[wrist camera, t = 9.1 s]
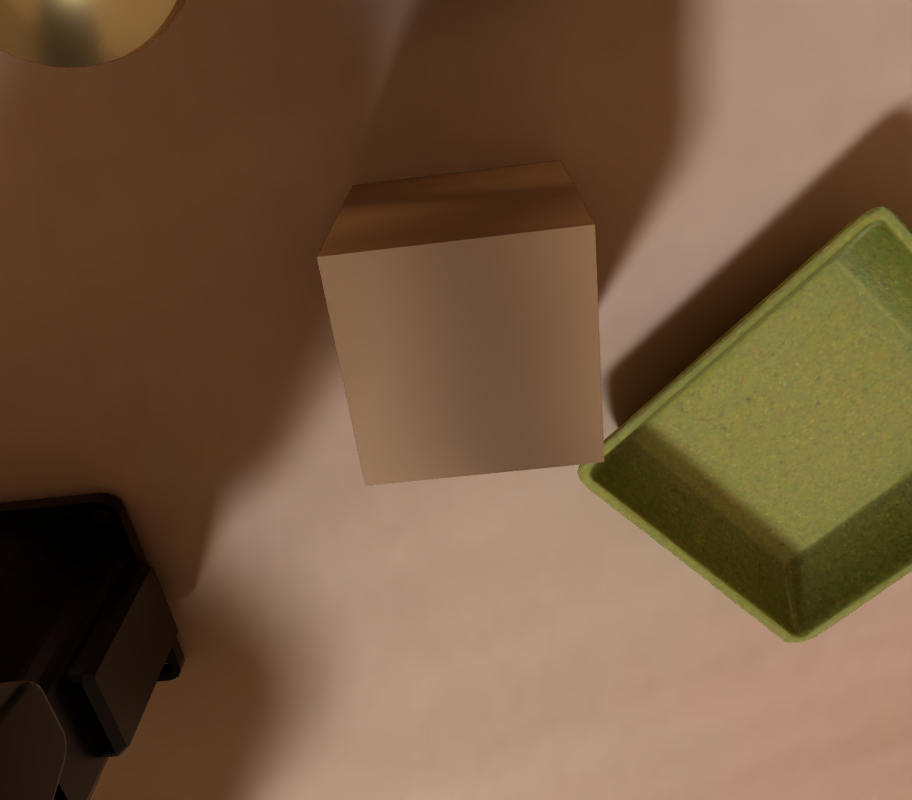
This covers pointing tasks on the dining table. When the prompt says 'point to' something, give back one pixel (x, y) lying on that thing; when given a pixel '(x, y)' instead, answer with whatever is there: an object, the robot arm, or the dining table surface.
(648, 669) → the dining table surface
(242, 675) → the dining table surface
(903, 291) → the green square dish
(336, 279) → the block
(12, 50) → the balance
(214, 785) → the dining table surface
